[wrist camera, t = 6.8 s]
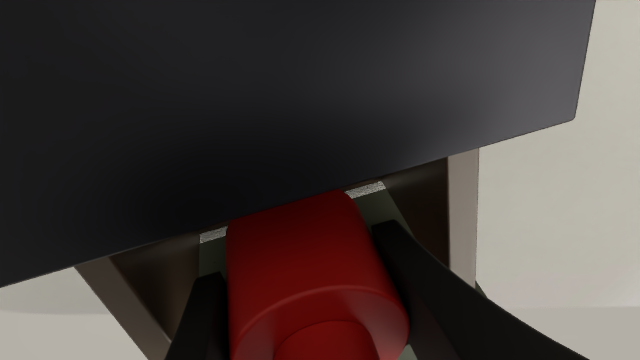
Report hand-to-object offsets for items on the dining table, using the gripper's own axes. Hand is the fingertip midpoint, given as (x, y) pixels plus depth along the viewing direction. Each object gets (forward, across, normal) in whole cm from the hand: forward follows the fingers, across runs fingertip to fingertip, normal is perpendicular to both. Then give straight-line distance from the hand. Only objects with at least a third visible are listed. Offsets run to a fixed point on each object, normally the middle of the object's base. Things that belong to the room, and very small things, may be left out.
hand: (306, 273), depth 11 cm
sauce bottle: (+1, 0, 0) cm, 1 cm away
